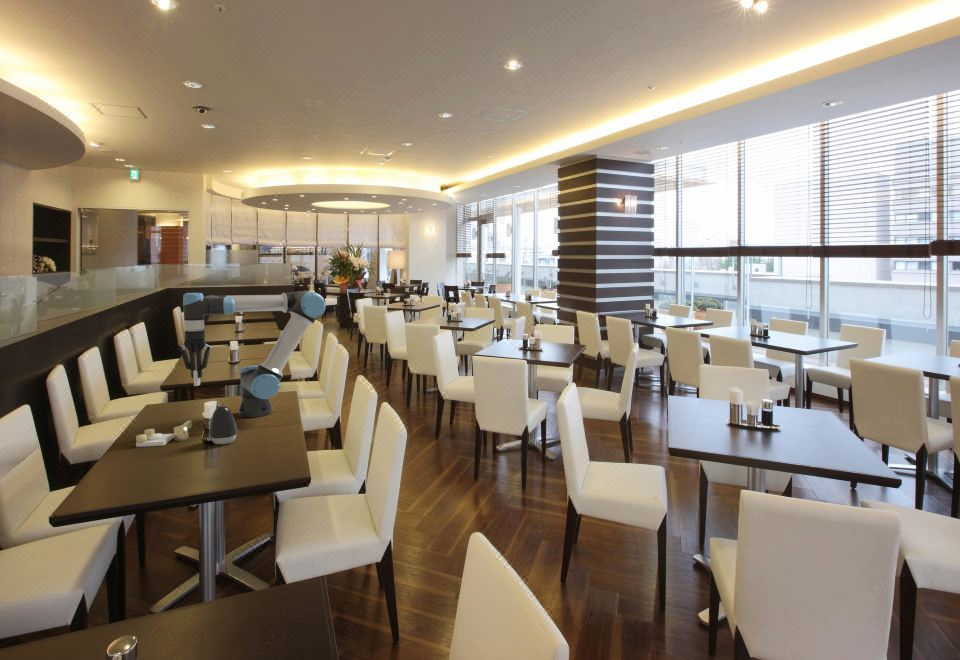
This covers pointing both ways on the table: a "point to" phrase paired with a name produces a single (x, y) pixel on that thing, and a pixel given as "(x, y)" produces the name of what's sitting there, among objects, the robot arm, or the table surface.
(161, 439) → the levelling base
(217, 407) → the dark grey egg-shaped device
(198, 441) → the table surface
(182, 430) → the footscrew knob
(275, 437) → the table surface
